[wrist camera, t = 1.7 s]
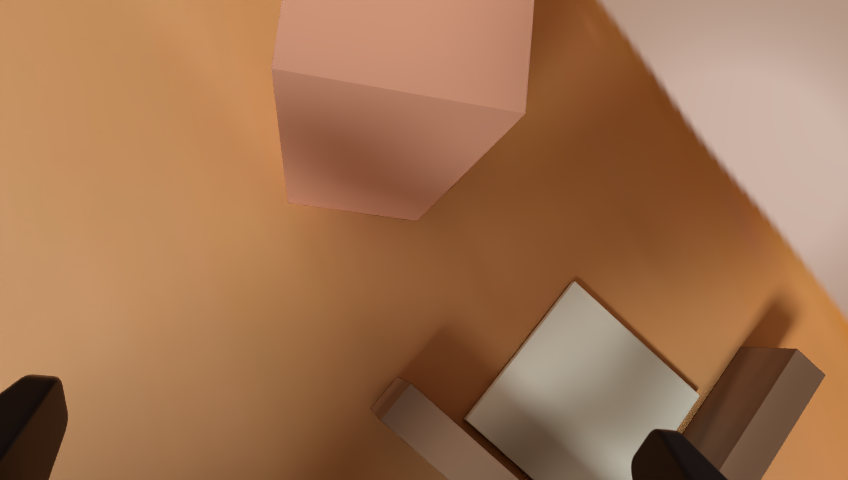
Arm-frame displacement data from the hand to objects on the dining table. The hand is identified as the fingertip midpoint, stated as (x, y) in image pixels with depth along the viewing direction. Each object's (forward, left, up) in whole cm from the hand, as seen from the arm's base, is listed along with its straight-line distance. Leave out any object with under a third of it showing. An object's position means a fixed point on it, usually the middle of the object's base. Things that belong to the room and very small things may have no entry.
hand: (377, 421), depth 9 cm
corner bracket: (+10, -1, -13) cm, 17 cm away
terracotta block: (0, +8, -13) cm, 16 cm away
